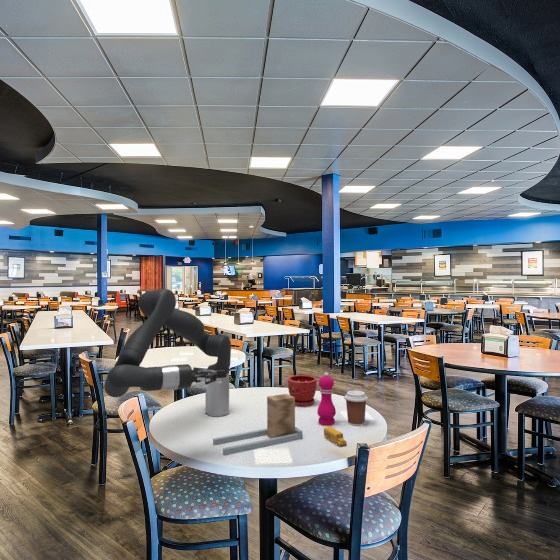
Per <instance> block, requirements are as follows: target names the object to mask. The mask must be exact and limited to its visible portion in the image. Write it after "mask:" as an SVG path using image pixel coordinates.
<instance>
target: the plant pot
mask: <svg viewBox="0 0 560 560" xmlns="http://www.w3.org/2000/svg"><path fill="white" fill-rule="evenodd" d="M287 388H288V393H289V394H288V395H290V396H293V397H295V407H297V406H298V407H308V406H309V407H310V406H312V405H313V404H314V403H315V401H316V400H315V398H314V397H315V395H316V392H317V378H316V377H315V376H313V375H308V374H297V375H291V376H289V377H288V379H287Z"/></svg>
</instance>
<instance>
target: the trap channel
mask: <svg viewBox="0 0 560 560" xmlns="http://www.w3.org/2000/svg"><path fill="white" fill-rule="evenodd" d="M263 436H267V428H262V429H257V430H252V431H247V432H241V433H236V434H231V435H224V436H221V437H215V438H212V444H213V445H214V446H219V445H223V444H228V443H233V442H239V441H242V440H243V441H244V440H248V439H254V438H259V437H263ZM302 439H303V430H301V429H300V428H299V427H297V426H295V434H290V435H285V436H280V437H276V438H266V439H261V440H257V441H252V442H247V443H242V444H238V445H232V446H228V447H223V448H222V454H223V456H229V455H232V454H238V453H241V452H242V453H243V452H246V451H252V450H256V449H261V448H266V447H270V446H275V445H280V444H284V443H291V442H294V441H297V440H302Z"/></svg>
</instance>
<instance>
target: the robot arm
mask: <svg viewBox="0 0 560 560" xmlns="http://www.w3.org/2000/svg"><path fill="white" fill-rule="evenodd" d="M176 305H177V299H176V296H175V294H174V292H173V291H172V290H170V289H169V288H168V289H167V288H163V289H161V288H160V289H154V290H149V291H146V292H143V293H142V294H141V295H140V296H139V298H138V308H139V310H140V313H142V314H143V315H144V316H145V317H147V319H146V320H145V321H144V322H143V323H141V325H140V326H139V327H137V328H136V329H135V330H134V331H133V332H132V333H131V334H130V336H128V338H127V339H126V341H125V343H124V344H123V347H122V349H121V350H120V352H119V355H118V358H117V361H116V362H115V364H114V366H113V367H112V368H110V370H109V371H108V373H107V376H106V378H105V380H104V384H103V385H104V387H103V388H104V391H105V393H106V394H107V395H108V397H111V398H120V397H122V396H124V395H125V394H126V393H128V391H129V389H130V388H140V390H141V391H143V392H152V391H153V392H155V391H174V390H175V391H176V390H177V391H178V390H185V389H189V388H191V386H192V385H193V383H196V384H202V383H204V384H205V385H207V387H206V388H207V389H206V390H205V414H206V413H207V414H206V415H207V416H210V417H223V416H227V415H229V414H230V367H231V356H232V355H231V354H232V342H231V339H230V337H229V336H227V335H224V334H222V335H221V334H210V333H208V332H207V331H205V325H204V323H203V322H202V320H201V319H200V318H198V317H196V315H194V314H192V313H190V312H188V311H185V310H182V309H177V308H176ZM164 326H165V327H166V328H168V329H170V330H171V331H173V332H175V333H176V334H177V335H179V336H180V337H182V338H183V339H185V340H186V341H188V342H189V343H191V344H193V345H195V346H196V347H197V348H198V349H199V350H201V352H202V353H204V354H205V355H206V356H208V357H214V358H217V359H216V362H215V363H214V364H213V363H212V364H210V365H208V366H207V368H206V367H196V366H195V367H193V368H192V367H191V365H190V364H186V363H184V364H171V365H170V364H169V365H161V366H149V367H148V366H147V367H146V366H145V367H144V366H141V364H142V362H143V360H144V359H145V357H146V354H147V352H148V351H149V348H150V346H151V344H152V343H153V340H154V339H155V338H156V337H157V335H158V333H159V332H161V329H162V328H163V327H164Z"/></svg>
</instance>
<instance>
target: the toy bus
mask: <svg viewBox="0 0 560 560" xmlns="http://www.w3.org/2000/svg"><path fill="white" fill-rule="evenodd" d="M323 436H324V438H325V439H326V440H327V441H328V442H331V443H333V444H335V446H337V447H343V446H347V440H346V439H344V433H342V432H341V431H339V430H337V429H336V428H333V427H332V426H325V427H324V428H323Z"/></svg>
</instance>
